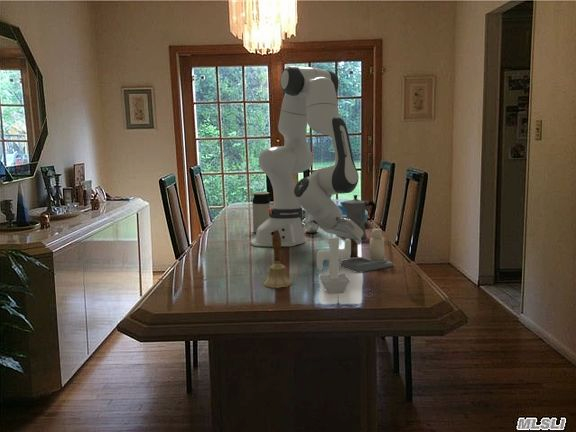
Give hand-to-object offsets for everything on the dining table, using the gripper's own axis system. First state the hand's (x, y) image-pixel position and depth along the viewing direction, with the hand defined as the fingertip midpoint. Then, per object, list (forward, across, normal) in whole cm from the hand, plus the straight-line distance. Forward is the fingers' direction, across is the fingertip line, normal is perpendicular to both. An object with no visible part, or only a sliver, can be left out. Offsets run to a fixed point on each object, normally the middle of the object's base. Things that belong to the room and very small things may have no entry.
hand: (352, 241), depth 183 cm
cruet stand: (0, -15, +8) cm, 17 cm away
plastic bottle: (+13, +49, -5) cm, 51 cm away
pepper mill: (+3, 0, +4) cm, 5 cm away
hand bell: (-24, -17, +32) cm, 43 cm away
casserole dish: (+33, +62, -24) cm, 74 cm away
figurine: (-17, -32, +25) cm, 44 cm away
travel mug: (+2, +65, +6) cm, 66 cm away
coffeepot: (+20, +28, -12) cm, 36 cm away
